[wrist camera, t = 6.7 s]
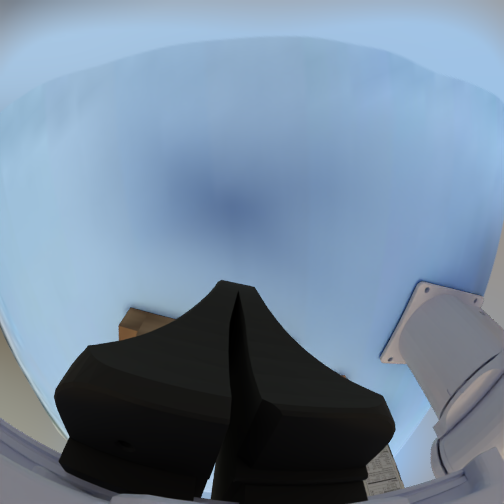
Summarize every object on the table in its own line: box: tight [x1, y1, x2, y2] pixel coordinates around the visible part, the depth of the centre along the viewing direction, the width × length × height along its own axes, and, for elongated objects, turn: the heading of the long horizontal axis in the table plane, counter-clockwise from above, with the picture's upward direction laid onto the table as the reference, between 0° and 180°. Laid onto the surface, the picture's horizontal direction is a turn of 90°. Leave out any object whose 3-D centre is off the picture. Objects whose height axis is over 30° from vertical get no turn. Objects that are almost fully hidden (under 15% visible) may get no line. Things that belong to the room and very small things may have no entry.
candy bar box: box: [363, 444, 404, 496], centre depth 19 cm, size 11×5×16 cm, turn 170°
